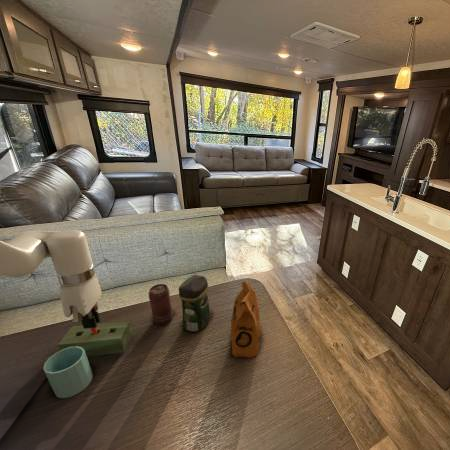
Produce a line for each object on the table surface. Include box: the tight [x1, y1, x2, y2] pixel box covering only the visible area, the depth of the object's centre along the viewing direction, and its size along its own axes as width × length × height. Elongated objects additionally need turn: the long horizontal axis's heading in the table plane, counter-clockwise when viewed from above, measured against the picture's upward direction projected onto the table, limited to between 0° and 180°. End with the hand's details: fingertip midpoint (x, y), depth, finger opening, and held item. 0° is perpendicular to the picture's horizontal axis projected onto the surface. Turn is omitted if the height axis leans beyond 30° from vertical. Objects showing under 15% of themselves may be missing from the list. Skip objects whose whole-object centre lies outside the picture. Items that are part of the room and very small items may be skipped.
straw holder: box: [57, 320, 134, 358], centre depth 77 cm, size 7×16×6 cm, turn 103°
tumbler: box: [42, 346, 94, 399], centre depth 65 cm, size 8×8×10 cm
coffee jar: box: [178, 274, 212, 332], centre depth 87 cm, size 10×8×19 cm
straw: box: [91, 312, 98, 335], centre depth 75 cm, size 1×1×14 cm
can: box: [148, 283, 174, 326], centre depth 87 cm, size 6×6×14 cm
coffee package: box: [230, 280, 262, 359], centre depth 80 cm, size 10×12×22 cm
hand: (92, 324), depth 74 cm, fingers closed on straw, 1 cm apart
